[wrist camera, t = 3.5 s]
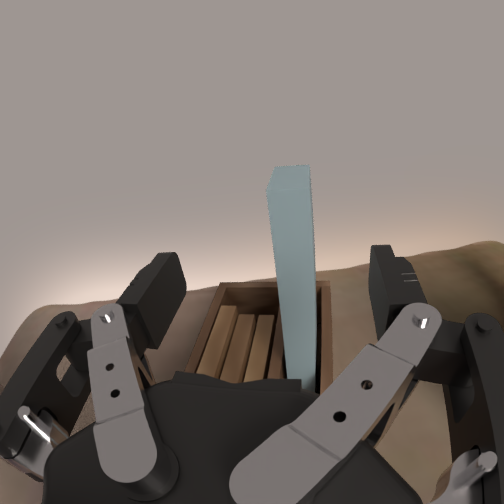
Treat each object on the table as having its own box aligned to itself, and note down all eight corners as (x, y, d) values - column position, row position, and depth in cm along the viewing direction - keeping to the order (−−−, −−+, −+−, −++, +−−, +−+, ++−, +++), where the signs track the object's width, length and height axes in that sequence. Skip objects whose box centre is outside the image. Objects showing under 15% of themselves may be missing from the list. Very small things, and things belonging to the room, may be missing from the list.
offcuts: (210, 420, 34) (192, 383, 30) (233, 344, 44) (222, 303, 40) (265, 425, 32) (256, 389, 28) (278, 345, 43) (272, 303, 39)
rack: (185, 448, 30) (165, 420, 27) (228, 317, 50) (220, 282, 46) (327, 461, 27) (331, 435, 23) (329, 317, 46) (329, 280, 43)
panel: (289, 402, 34) (266, 190, 21) (293, 364, 40) (274, 166, 27) (314, 402, 34) (309, 187, 21) (316, 364, 39) (309, 164, 26)
